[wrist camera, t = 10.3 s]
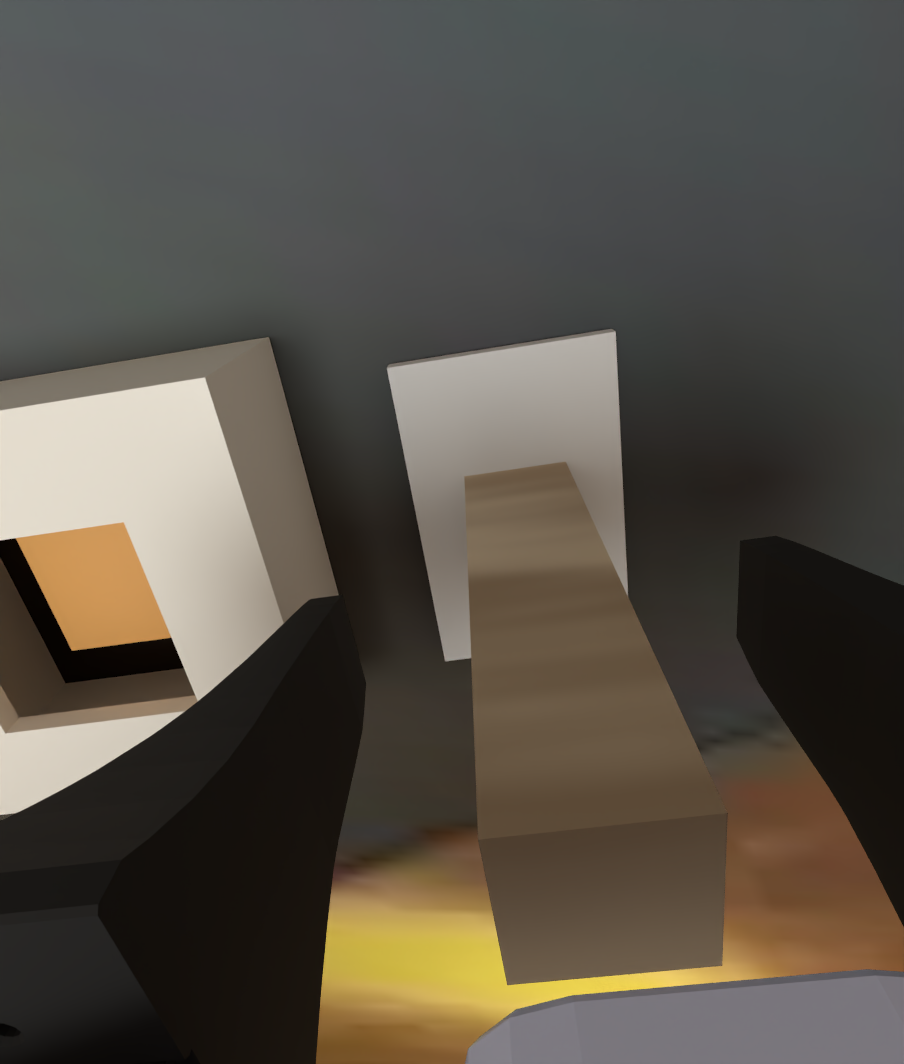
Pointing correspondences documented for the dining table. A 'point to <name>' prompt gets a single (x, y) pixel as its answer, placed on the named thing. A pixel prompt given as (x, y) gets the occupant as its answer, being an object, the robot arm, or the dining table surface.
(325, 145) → the dining table surface
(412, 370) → the mat
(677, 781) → the brown wooden bar
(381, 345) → the dining table surface
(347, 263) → the dining table surface
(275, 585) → the frame
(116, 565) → the button
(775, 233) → the dining table surface
